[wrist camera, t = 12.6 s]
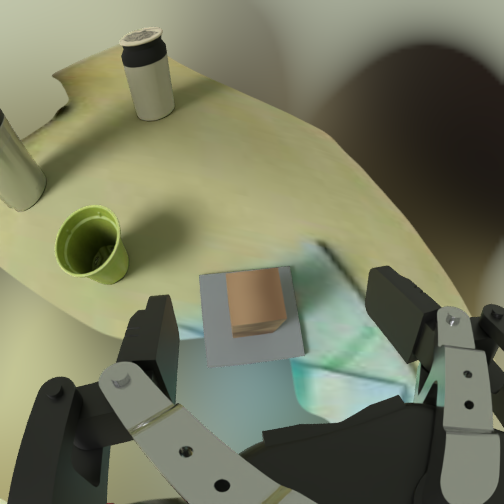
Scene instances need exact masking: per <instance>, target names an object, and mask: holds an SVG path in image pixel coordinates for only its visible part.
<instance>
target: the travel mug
mask: <svg viewBox="0 0 504 504" xmlns="http://www.w3.org/2000/svg"><path fill="white" fill-rule="evenodd" d="M162 32H163V31H162V29H160V28H158V27H147V28H142V29H138V30H135V31H132V32H130V33H128V34H127V35H125V36H123V37H122V38H121V39H120V45H122V46H123V49H124V50H123V53H122V56H121V57H122V61H123V65H124V69H125V73H126V77H127V81H128V84H129V88H130V92H131V95H132V99H133V103H134V106H135V110H136V113H137V116H138V117H139V118H140V119H142V120H146V121H152V120H157V119H161V118H163V117H165V116H167V115H168V114H170V113H171V112H172V110H173V109H174V107H175V103H174V97H173V91H172V84H171V78H170V71H169V64H168V57H167V50H166V44H165V43H164V42H163V41H162V39H161V34H162Z"/></svg>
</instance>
